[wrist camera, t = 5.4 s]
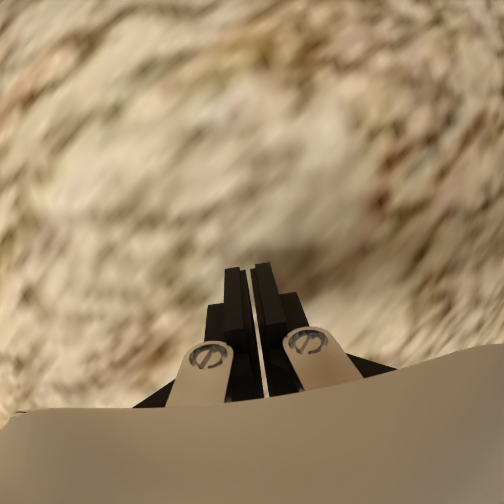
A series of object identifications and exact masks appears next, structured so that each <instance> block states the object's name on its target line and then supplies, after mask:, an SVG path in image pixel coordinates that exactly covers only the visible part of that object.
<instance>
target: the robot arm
mask: <svg viewBox="0 0 504 504" xmlns="http://www.w3.org/2000/svg"><path fill="white" fill-rule="evenodd" d="M255 267H256V268H254V269H250V272H251V279H252V286H253V293H254V300H255V307H256V314H257V321H258V327H259V334H260V340H261V347H262V353H263V360H264V366H265V372H266V379H267V385H268V391H269V398H264V393H263V385H262V377H261V370H260V362H259V354H258V347H257V339H256V332H255V326H254V319H253V313H252V307H251V301H250V295H249V288H248V282H247V276H246V270H241V271H240V268H239V267H235V268H228V269H225V279H224V303H220V304H212V305H208V309H207V318H206V328H205V338H204V342H203V343H199V344H197V345H195V346H193V347H192V348H191V349H190V350H188V351H187V353H186V354H185V356H184V358H183V361H182V364H181V366H180V369H179V371H178V374H177V377H176V379H174V380H173V381H171V382H170V383H169V384H167V385H166V386H164V387H163V388H161V389H160V390H158V391H157V392H155V393H154V394H152V395H151V396H149V397H148V398H146V399H145V400H143V401H142V402H140V403H139V404H137V405H136V406H134V407H133V408H48V409H41V410H35V411H31V412H27V413H24V414H21V415H18V416H16V417H14V418H12V419H11V420H9V421H8V422H7V423H6V424H5V425H4V426H3V427H2V429H1V430H0V504H504V344H488V345H482V346H476V347H471V348H467V349H464V350H460V351H456V352H453V353H450V354H447V355H444V356H440V357H437V358H434V359H431V360H427V361H424V362H421V363H418V364H414V365H411V366H408V367H405V368H401V369H395V368H392V367H389V366H385V365H382V364H379V363H376V362H372V361H369V360H366V359H363V358H360V357H356V356H353V355H350V354H347V353H345V352H344V351H343V349H342V348H341V347H340V345H339V344H338V343H337V341H336V340H335V339H334V337H333V336H332V335H331V334H330V333H329V332H328V331H327V330H325V329H322V328H319V327H310V326H309V324H308V321H307V318H306V316H305V313H304V311H303V308H302V305H301V303H300V300H299V298H298V295H297V293H296V292H293V293H287V294H280V295H279V293H278V290H277V286H276V283H275V279H274V276H273V272H272V269H271V265H270V262H268V263H261V264H255Z"/></svg>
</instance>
